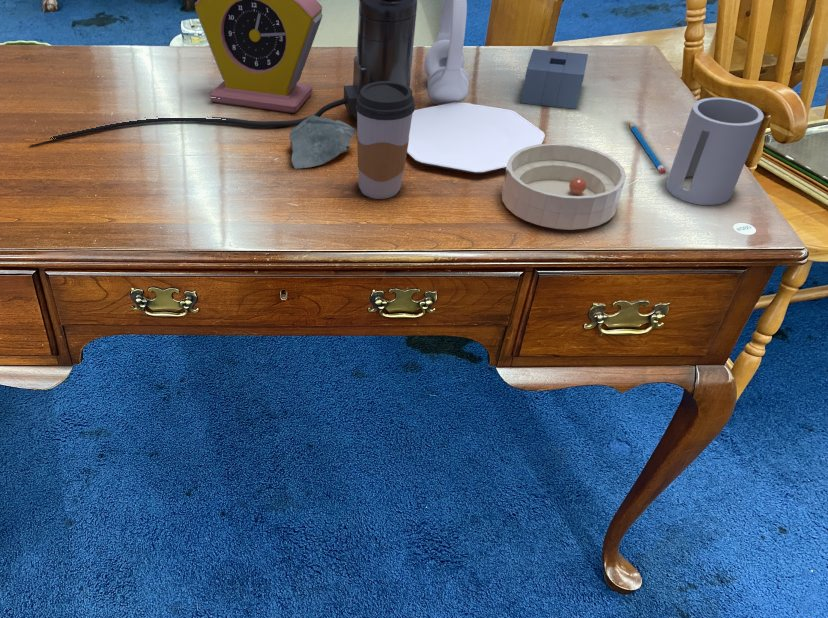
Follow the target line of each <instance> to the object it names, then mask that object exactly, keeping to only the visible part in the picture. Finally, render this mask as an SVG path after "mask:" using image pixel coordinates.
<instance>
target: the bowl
mask: <svg viewBox="0 0 828 618" xmlns="http://www.w3.org/2000/svg"><path fill="white" fill-rule="evenodd" d="M625 171H626V170H625V168H624V167H623V166H622V165H621V163H619V162H618V160H616V159H614V158H613V157H611V156H610V155H608V154H606V153H604V152H602V151H599V150H597V149H595V148H590V147H587V146H584V145H583V146H582V145H579V144H572V143H560V142H559V143H558V142H551V143H542V144H538V145H533V146H529V147H526V148H523V149H521V150H519V151H517V152H516V153H514V154H513V155H512V156H511V157H510V159H509V161H508V163H507V168H506V169H505V174H504V178H503V184H502V190H501V201H502V203H503V204H504V206H505V208H506V209H508V211H510V212H511V213H512V214H513V215H514V216H516V217H517V218H520V219H521V220H523V221H525V222H528V223H530V224H534V225H537V226H540V227H544V228H549V229H555V230H566V231H567V230H568V231H570V230H571V231H572V230H585V229H590V228H593V227H598V226H601V225H603V224H605V223H607V222H608V221H610V220H611V219H612V218H613V217H614V216H615V215H616V211H617V208H618V205H619V201H620V198H621V195H622V192H623V188H624V186H625V185H624V184H625V182H626V178H627V175H626V172H625ZM575 178H582V179H584V180H585V182H586V189H585V191H584V192H583V193H581V194H578V195H576V194H573V193H571V191H570V190H569V184H570V182H571V181H572V180H573V179H575Z"/></svg>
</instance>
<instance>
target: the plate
mask: <svg viewBox="0 0 828 618" xmlns="http://www.w3.org/2000/svg"><path fill="white" fill-rule="evenodd" d="M545 138H546V134H545V132H544V131H543V130H541V129H540V128H538V127H537V126H535V125H534V124H533V123H531V122H530V121H528V120H527V119H526V118H524V117H523V116H521V115H520V114H518V113H517V112H516V111H514V110H512V109H507V108H500V107H494V106H488V105H482V104H476V103H469V102H463V101H461V102H453V103H448V104H443V105H438V104H437V105H432V106H429V107H422V108H418V109H415V110H414V112H413V114H412V120H411V127H410V133H409V143H408V149H407V155H408V156H409V157H410V158H411V159H412V160H414V162H415V163H418V164H420V165H425V166H429V167H436V168H441V169H447V170H450V171H451V170H452V171H457V172H463V173H468V174H473V175H481V174H483V175H484V174H486V173H492V172H496V171H500V170H501V171H502V170H506V168H507V163H508V161H509V159H510V157H511V156H512V155H513V154H514V153H516V152H517V151H519V150H521V149H523V148H526V147H529V146H533V145H538V144H544V143H543V142H544V141H545Z"/></svg>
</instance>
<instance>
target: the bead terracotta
mask: <svg viewBox="0 0 828 618" xmlns="http://www.w3.org/2000/svg"><path fill="white" fill-rule="evenodd" d="M585 189H586V182H585V180H584V179H582V178H575V179H573V180H572V181H571V182H570V184H569V190H570V191H571V193H573V194H576V195H578V194H581V193H583V192H584V191H585Z"/></svg>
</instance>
